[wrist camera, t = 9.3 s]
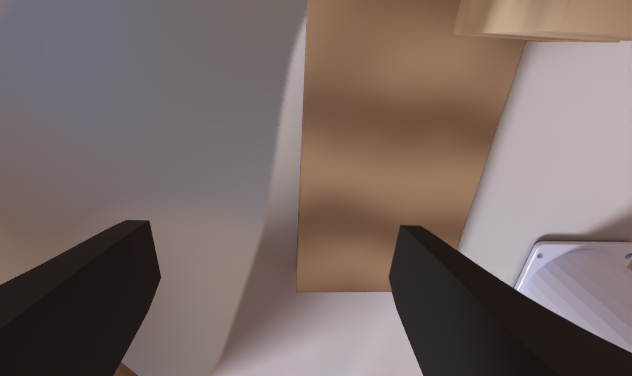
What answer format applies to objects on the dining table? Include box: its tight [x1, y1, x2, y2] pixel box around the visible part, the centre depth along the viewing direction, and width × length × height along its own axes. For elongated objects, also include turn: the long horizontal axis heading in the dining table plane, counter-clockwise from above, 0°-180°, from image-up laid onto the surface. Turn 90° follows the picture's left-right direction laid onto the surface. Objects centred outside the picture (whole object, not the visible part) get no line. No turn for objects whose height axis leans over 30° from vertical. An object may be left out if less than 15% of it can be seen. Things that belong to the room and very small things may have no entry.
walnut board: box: [296, 0, 526, 292], centre depth 16 cm, size 22×10×2 cm, turn 176°
